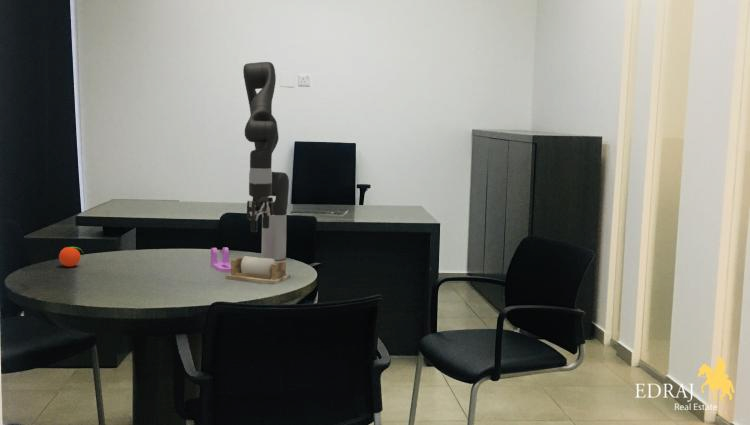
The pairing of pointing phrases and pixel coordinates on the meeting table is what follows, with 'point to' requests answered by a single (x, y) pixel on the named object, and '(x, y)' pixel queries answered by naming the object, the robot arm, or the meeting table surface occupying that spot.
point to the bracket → (223, 265)
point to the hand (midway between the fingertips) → (259, 230)
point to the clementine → (69, 256)
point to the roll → (257, 266)
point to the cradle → (277, 275)
